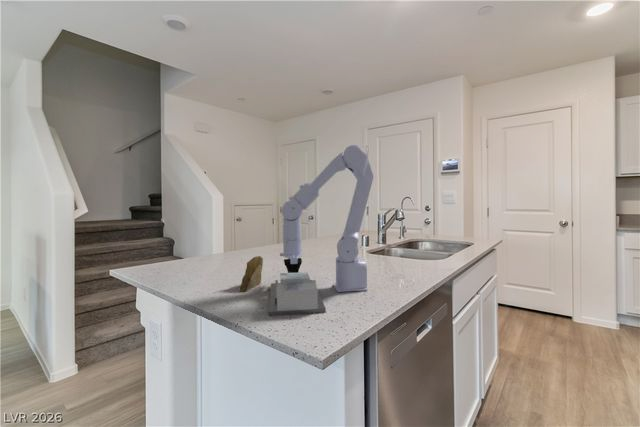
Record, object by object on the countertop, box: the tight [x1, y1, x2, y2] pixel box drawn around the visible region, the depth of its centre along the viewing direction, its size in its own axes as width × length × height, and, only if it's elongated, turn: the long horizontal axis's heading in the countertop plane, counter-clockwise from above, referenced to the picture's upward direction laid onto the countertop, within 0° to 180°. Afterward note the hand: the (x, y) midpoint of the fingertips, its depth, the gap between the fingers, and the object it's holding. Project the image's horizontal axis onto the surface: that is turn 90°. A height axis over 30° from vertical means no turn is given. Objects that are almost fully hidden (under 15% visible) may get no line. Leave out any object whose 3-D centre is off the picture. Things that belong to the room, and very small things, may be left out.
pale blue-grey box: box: [279, 271, 317, 286], centre depth 86 cm, size 10×9×5 cm
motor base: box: [268, 279, 327, 317], centre depth 88 cm, size 14×25×6 cm, turn 8°
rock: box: [239, 255, 264, 292], centre depth 99 cm, size 11×9×10 cm
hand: (293, 281), depth 97 cm, fingers closed
